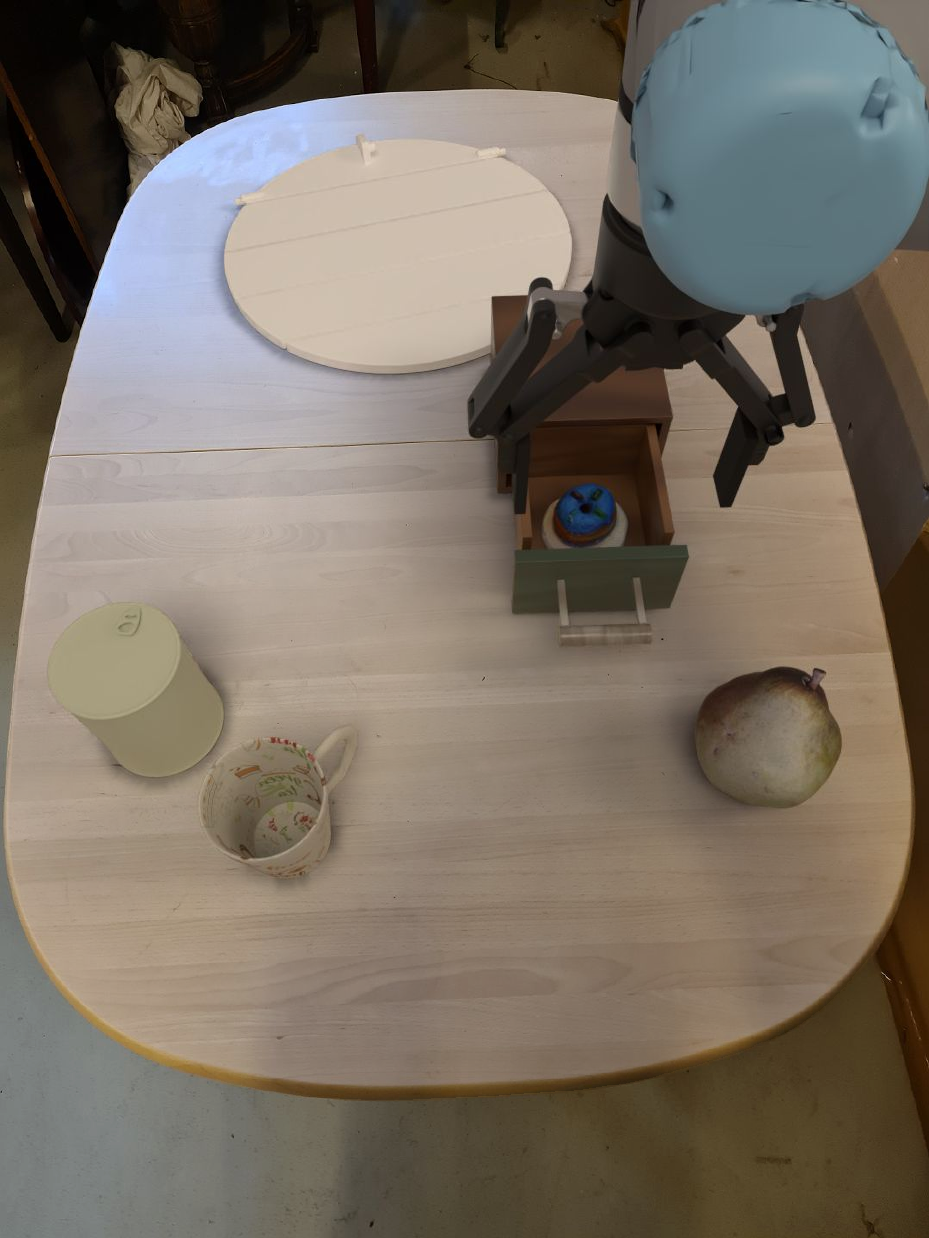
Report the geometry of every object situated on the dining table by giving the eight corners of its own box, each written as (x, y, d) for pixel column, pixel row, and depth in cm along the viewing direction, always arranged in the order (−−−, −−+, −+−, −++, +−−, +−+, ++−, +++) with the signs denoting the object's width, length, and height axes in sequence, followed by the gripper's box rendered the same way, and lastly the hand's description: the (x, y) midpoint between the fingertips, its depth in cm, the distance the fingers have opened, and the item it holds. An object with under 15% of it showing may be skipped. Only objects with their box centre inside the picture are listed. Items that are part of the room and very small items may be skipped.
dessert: (572, 473, 77) (608, 460, 72) (617, 527, 79) (655, 518, 74) (517, 533, 75) (550, 523, 70) (564, 587, 77) (599, 582, 71)
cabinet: (653, 488, 80) (673, 416, 72) (497, 493, 80) (499, 422, 72) (632, 368, 88) (648, 291, 79) (490, 373, 88) (491, 295, 79)
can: (238, 680, 71) (197, 607, 60) (202, 786, 66) (151, 726, 56) (133, 664, 72) (74, 588, 61) (90, 767, 67) (19, 705, 57)
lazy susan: (204, 177, 105) (196, 150, 102) (508, 121, 110) (509, 93, 107) (256, 409, 86) (248, 384, 83) (622, 329, 91) (627, 302, 88)
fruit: (824, 731, 68) (887, 663, 57) (806, 843, 63) (870, 791, 53) (696, 692, 70) (734, 618, 59) (670, 798, 65) (706, 739, 55)
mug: (212, 852, 64) (170, 812, 55) (319, 723, 69) (296, 668, 60) (297, 919, 61) (267, 887, 53) (402, 780, 66) (391, 730, 58)
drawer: (680, 669, 70) (702, 622, 63) (515, 675, 70) (519, 628, 63) (647, 474, 80) (662, 415, 73) (503, 479, 80) (505, 420, 73)
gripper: (935, 143, 41) (794, 446, 59) (412, 160, 41) (433, 457, 59) (988, 244, 37) (820, 534, 55) (412, 262, 37) (434, 546, 55)
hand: (620, 495), depth 57 cm, fingers open, 13 cm apart
